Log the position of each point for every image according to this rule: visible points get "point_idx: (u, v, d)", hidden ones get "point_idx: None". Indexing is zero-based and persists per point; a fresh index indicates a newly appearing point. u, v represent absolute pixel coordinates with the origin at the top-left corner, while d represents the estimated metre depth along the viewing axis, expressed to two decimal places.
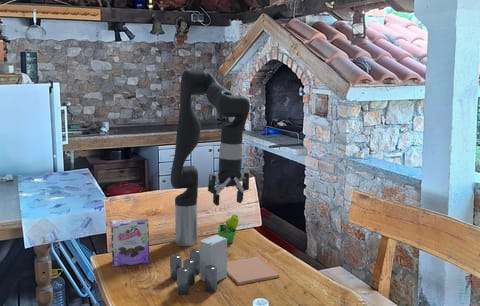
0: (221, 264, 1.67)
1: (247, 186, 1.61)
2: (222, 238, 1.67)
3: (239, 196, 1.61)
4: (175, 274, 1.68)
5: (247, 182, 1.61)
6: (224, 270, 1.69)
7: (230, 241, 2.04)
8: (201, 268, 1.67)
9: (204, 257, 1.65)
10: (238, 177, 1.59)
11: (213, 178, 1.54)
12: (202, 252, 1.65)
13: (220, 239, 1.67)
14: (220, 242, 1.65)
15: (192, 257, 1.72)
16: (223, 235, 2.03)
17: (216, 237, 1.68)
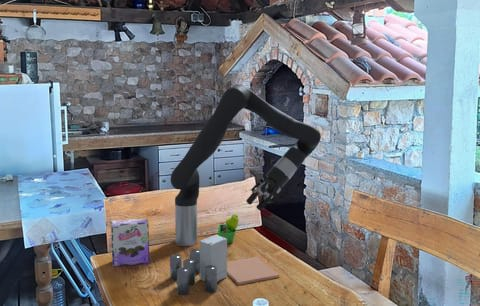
0: (221, 264, 1.67)
1: None
2: (222, 238, 1.67)
3: (253, 199, 1.75)
4: (175, 274, 1.68)
5: None
6: (224, 270, 1.69)
7: (230, 241, 2.04)
8: (201, 268, 1.67)
9: (204, 257, 1.65)
10: None
11: None
12: (202, 252, 1.65)
13: (220, 239, 1.67)
14: (220, 242, 1.65)
15: (192, 257, 1.72)
16: (223, 235, 2.03)
17: (216, 237, 1.68)
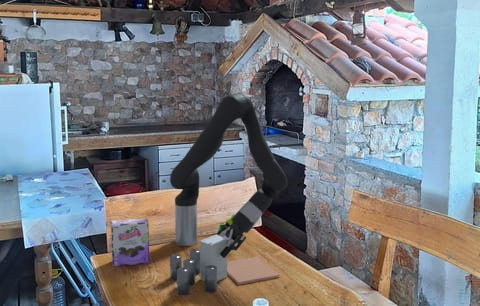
0: (221, 264, 1.67)
1: None
2: (222, 238, 1.67)
3: None
4: (175, 274, 1.68)
5: None
6: (224, 270, 1.69)
7: None
8: (201, 268, 1.67)
9: (204, 257, 1.65)
10: None
11: None
12: (202, 252, 1.65)
13: (220, 239, 1.67)
14: (220, 242, 1.65)
15: (192, 257, 1.72)
16: None
17: (216, 237, 1.68)
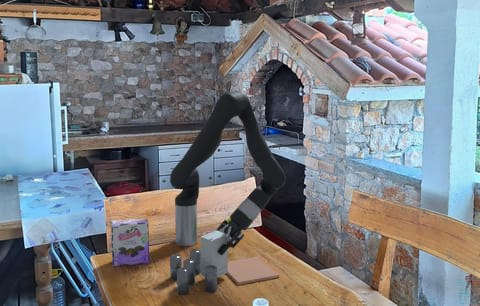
0: (221, 259, 1.67)
1: None
2: (223, 234, 1.67)
3: None
4: (175, 274, 1.68)
5: None
6: (225, 266, 1.69)
7: None
8: (202, 264, 1.67)
9: (205, 253, 1.65)
10: None
11: None
12: (203, 247, 1.65)
13: (221, 235, 1.66)
14: (221, 238, 1.65)
15: (192, 257, 1.72)
16: None
17: (217, 233, 1.68)
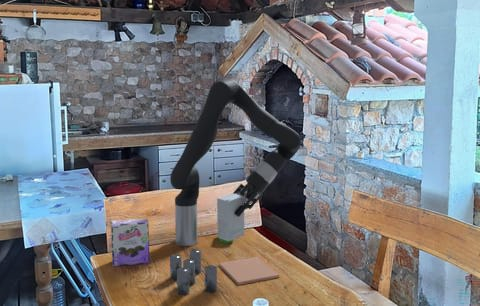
0: (238, 221, 1.67)
1: None
2: (239, 196, 1.68)
3: None
4: (175, 274, 1.68)
5: None
6: (241, 228, 1.69)
7: (230, 241, 2.04)
8: (218, 226, 1.67)
9: (222, 214, 1.65)
10: None
11: None
12: (219, 209, 1.66)
13: (237, 197, 1.67)
14: (237, 199, 1.65)
15: (192, 257, 1.72)
16: None
17: (233, 195, 1.68)
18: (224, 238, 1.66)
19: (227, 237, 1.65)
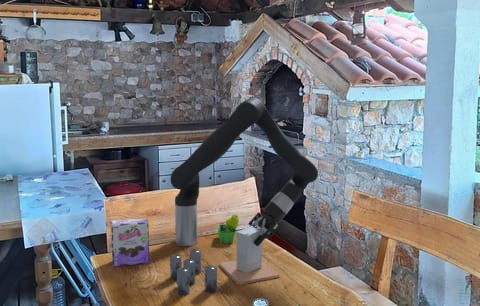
0: (256, 254, 1.73)
1: None
2: (258, 229, 1.74)
3: None
4: (175, 274, 1.68)
5: None
6: (259, 260, 1.75)
7: (230, 241, 2.04)
8: (237, 258, 1.74)
9: (241, 247, 1.71)
10: None
11: None
12: (238, 242, 1.72)
13: (256, 230, 1.73)
14: (256, 233, 1.72)
15: (192, 257, 1.72)
16: (223, 235, 2.03)
17: (252, 228, 1.74)
18: (242, 270, 1.73)
19: (246, 269, 1.71)
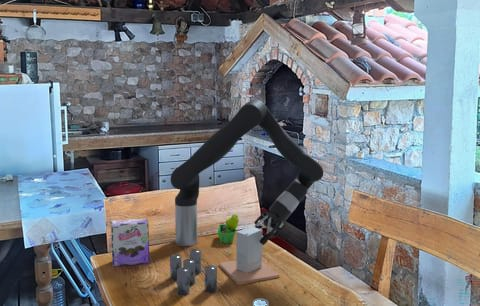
0: (256, 254, 1.73)
1: None
2: (258, 229, 1.74)
3: None
4: (175, 274, 1.68)
5: None
6: (259, 260, 1.75)
7: (230, 241, 2.04)
8: (237, 258, 1.74)
9: (241, 247, 1.71)
10: None
11: None
12: (238, 242, 1.72)
13: (256, 230, 1.73)
14: (256, 233, 1.72)
15: (192, 257, 1.72)
16: (223, 235, 2.03)
17: (252, 228, 1.74)
18: (242, 270, 1.73)
19: (246, 269, 1.71)
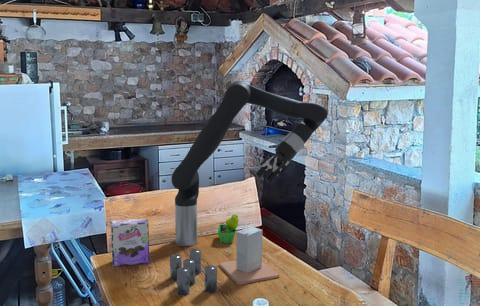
0: (256, 254, 1.73)
1: None
2: (258, 229, 1.74)
3: (262, 172, 1.84)
4: (175, 274, 1.68)
5: None
6: (259, 260, 1.75)
7: (230, 241, 2.04)
8: (237, 258, 1.74)
9: (241, 247, 1.71)
10: None
11: None
12: (238, 242, 1.72)
13: (256, 230, 1.73)
14: (256, 233, 1.72)
15: (192, 257, 1.72)
16: (223, 235, 2.03)
17: (252, 228, 1.74)
18: (242, 270, 1.73)
19: (246, 269, 1.71)
